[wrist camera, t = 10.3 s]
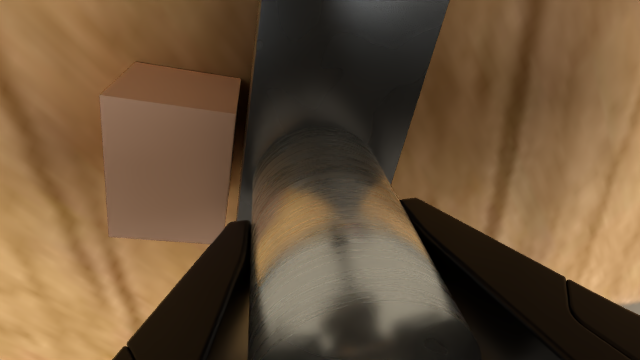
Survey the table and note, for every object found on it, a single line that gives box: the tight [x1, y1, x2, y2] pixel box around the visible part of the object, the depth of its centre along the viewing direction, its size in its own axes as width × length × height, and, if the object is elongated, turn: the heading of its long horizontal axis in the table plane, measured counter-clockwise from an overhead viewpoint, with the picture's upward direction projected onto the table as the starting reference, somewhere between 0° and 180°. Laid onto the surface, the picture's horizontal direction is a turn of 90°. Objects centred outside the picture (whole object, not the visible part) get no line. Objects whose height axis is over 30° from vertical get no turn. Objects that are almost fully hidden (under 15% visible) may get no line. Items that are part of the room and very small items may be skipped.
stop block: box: [99, 62, 241, 244], centre depth 11 cm, size 4×3×3 cm
